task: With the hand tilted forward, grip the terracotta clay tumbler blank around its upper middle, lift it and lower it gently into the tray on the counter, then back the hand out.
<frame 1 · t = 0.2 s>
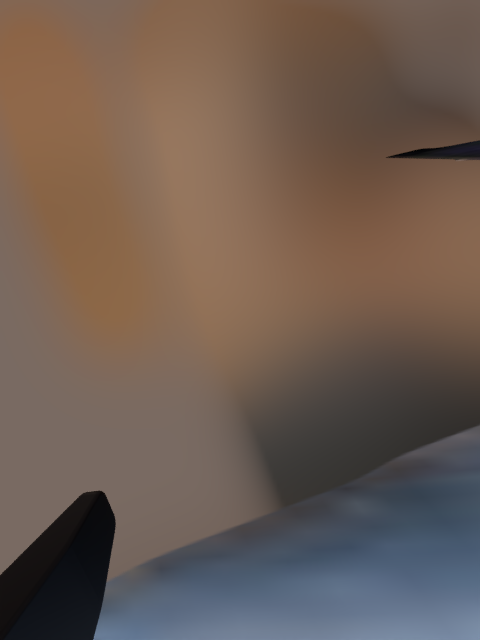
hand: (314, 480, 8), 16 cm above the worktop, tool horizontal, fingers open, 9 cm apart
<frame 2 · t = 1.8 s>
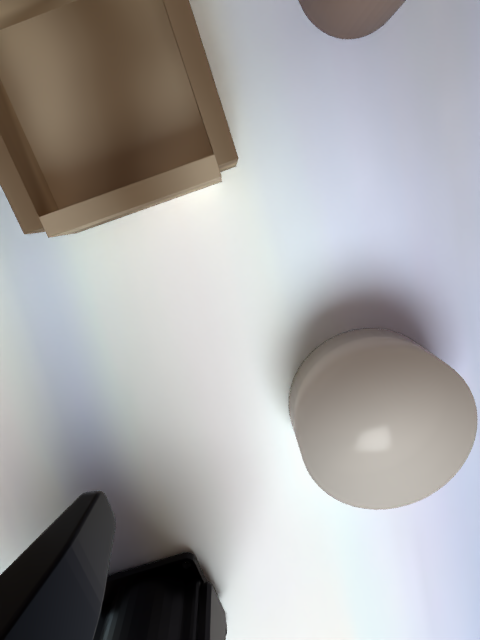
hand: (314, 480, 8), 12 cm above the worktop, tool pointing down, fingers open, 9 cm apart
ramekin: (362, 399, 21), on the worktop
tray: (109, 107, 17), on the worktop
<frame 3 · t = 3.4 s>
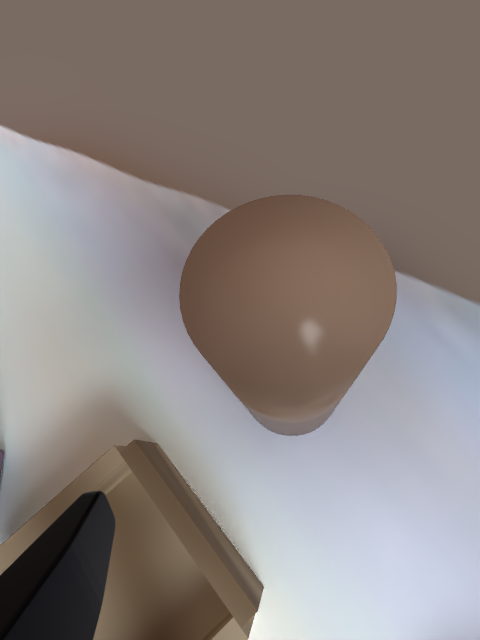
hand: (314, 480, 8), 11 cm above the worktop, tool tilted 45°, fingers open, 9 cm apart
tumbler: (290, 387, 20), on the worktop
tray: (133, 579, 18), on the worktop
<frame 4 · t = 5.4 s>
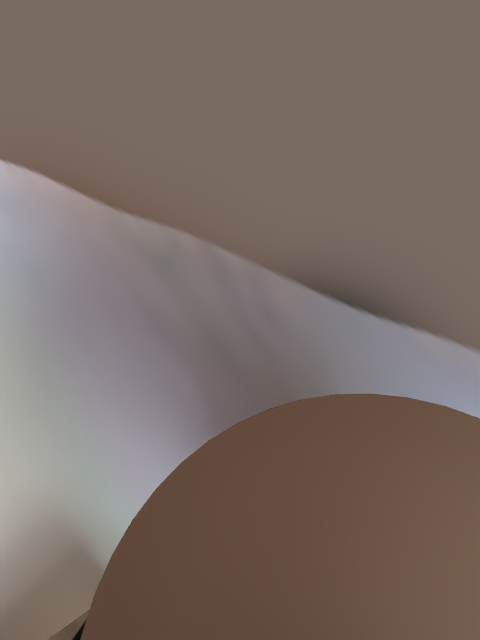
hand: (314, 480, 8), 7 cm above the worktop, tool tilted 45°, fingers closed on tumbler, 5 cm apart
tumbler: (312, 515, 14), on the worktop, touching gripper
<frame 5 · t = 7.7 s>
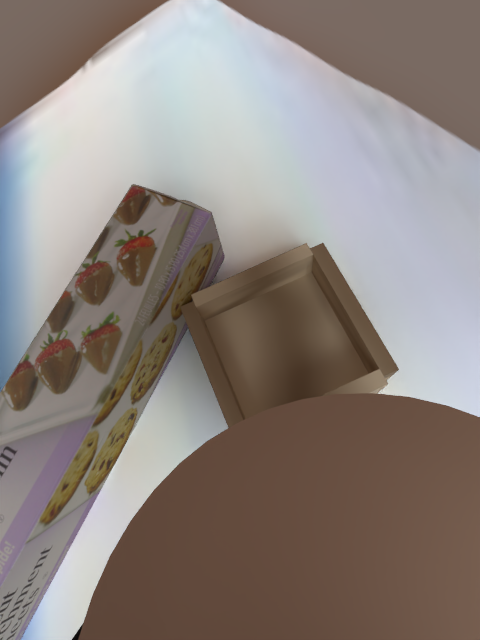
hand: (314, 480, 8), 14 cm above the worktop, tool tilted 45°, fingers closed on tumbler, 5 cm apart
tumbler: (312, 515, 14), point 7 cm above the worktop, touching gripper
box: (90, 434, 24), on the worktop
tray: (283, 351, 23), on the worktop
when the fingers open (8 cm above the worktop, at t = 10.0 s): tumbler stays where it is, resting on tray.
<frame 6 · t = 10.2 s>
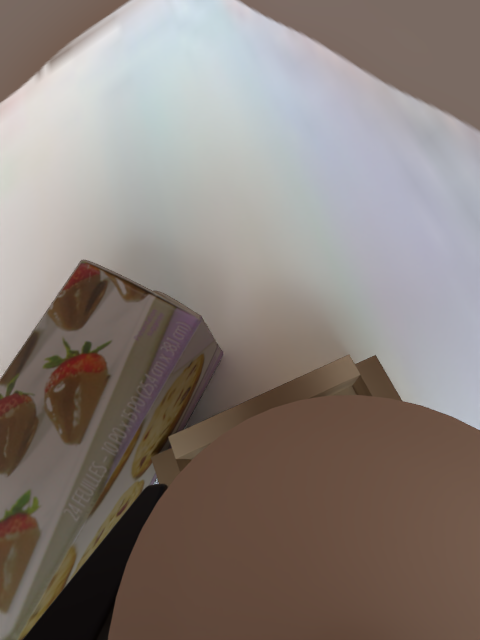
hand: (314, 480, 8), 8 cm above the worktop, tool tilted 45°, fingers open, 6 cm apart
tumbler: (311, 515, 14), point 1 cm above the worktop, touching tray
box: (12, 624, 16), on the worktop
tray: (311, 510, 15), on the worktop
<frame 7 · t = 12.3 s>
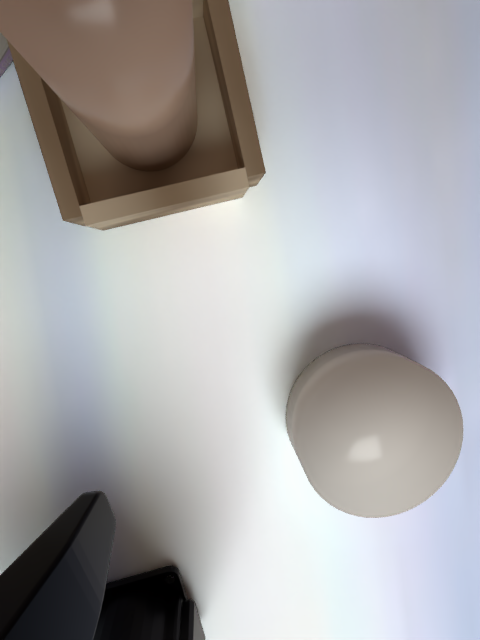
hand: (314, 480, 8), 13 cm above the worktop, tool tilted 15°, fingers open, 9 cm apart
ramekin: (355, 412, 22), on the worktop
tumbler: (146, 118, 18), point 1 cm above the worktop, touching tray
tray: (149, 122, 19), on the worktop
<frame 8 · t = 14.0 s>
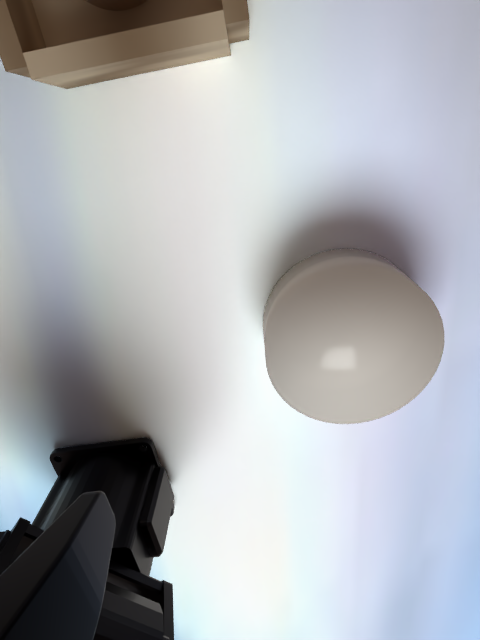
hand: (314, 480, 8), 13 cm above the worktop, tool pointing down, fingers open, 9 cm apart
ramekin: (337, 321, 21), on the worktop
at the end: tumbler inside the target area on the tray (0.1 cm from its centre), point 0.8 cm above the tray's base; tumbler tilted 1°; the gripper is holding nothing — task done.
